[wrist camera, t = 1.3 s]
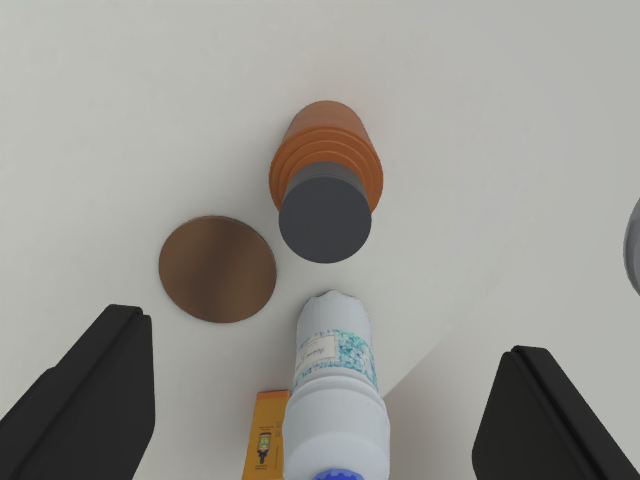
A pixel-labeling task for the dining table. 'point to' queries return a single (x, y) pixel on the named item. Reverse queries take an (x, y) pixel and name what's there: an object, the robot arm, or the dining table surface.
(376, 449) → the bottle
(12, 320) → the dining table surface
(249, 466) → the supplement box
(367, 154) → the sauce bottle
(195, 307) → the coaster
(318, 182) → the cap
